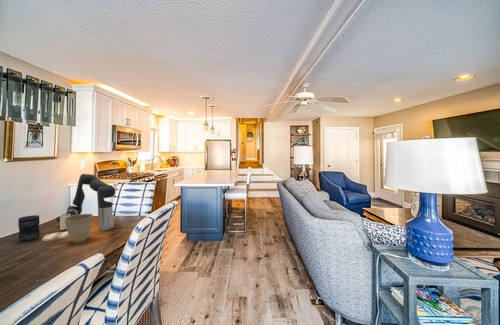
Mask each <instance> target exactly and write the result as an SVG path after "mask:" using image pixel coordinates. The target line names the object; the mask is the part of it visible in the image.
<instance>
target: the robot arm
mask: <svg viewBox="0 0 500 325" xmlns="http://www.w3.org/2000/svg"><path fill="white" fill-rule="evenodd" d="M83 185H87V186H89V188H90V189H91V190H93V191H94V192H96V195H97V219H98V220H97V224H98V225H97V228H98V229H97V230H98V231H99V232H100V231H109V230H112V229H113V228H115V223H114V222H115V215H113V202H111V201H107V200H106V199H108V198H112V197H114V196H115V195H116V188H115V187H114V186H113V185H111V184H107V182H104V181H102V180H101V179H99V178H98V177H97V176H96V175H94V174H87V173H82V174H80V176H79V179H78V182H77V187H76V192H75V195H74V198H73V200H72V204H73V205H70V206H68V207H67V209H66V212H65V214H70V216H73V215H79V214H82V212H83V203H84V200H85V198H86V195H85V191H84V190H83ZM60 216H61V215H59V216H57V217H56V219H55V220H56V222H59V223H60Z"/></svg>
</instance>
